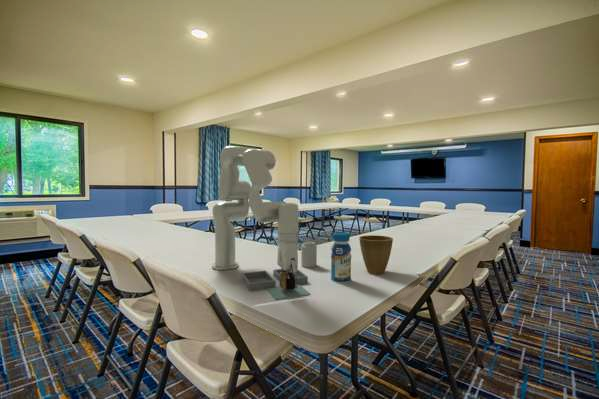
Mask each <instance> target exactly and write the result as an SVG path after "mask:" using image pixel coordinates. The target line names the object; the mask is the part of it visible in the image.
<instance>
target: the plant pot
mask: <svg viewBox="0 0 599 399" xmlns="http://www.w3.org/2000/svg"><path fill="white" fill-rule="evenodd" d="M393 239H394V238H393V237H391V236H387V235H377V234H376V235H370V234H369V235H361V236H359V237H358V240H359V244H360V245H359V246H360V251H361V256H362V259H363V262H364V265H365V268H366V272H367V273H368V274H372V275H383V274H384V273H386V269H387V266H388V264H389V260H390V257H391V252H392V249H393V248H392V247H393V242H394V240H393Z"/></svg>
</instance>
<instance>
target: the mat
mask: <svg viewBox="0 0 599 399" xmlns="http://www.w3.org/2000/svg"><path fill="white" fill-rule="evenodd" d="M266 290H267V291H268V293H269V294H270V295H271V296H272V298H273V299H274V300H275V301H278V300H283V299H284V300H287V299H295V298H300V297H309V296H310V295H311V293H310V292H309V291H308V290H306V289H305V287H303V286H302V284H297V289H290V290H283V289H282V288H281V287H280V286H275V287H273V288H266Z"/></svg>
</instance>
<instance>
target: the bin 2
mask: <svg viewBox="0 0 599 399" xmlns="http://www.w3.org/2000/svg"><path fill="white" fill-rule="evenodd" d="M289 269H291V268H289ZM296 271H297V273H296V274H297V284H300V285H302V284H308V282H309V280H308V279H309V277H308V276H307V274H305V273H303V271H301V270H300V269H298V268H297V269H296ZM280 272H281V268H277V269H273V271H272V273H273V274H272V277H273V278H274V279H276V280H277V281H278V282H279V283H280Z"/></svg>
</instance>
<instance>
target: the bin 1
mask: <svg viewBox="0 0 599 399" xmlns="http://www.w3.org/2000/svg"><path fill="white" fill-rule="evenodd" d="M241 280H242V281H243V283H244V286H245V287H246V288H247V290H248V291H249V292H250V291H251V292H252V291H257V290H265V289H266V290H267V288H273V287H276V280H275V278H274V277H273V276H271V274H270V273H269V272H268V271H267V270H259V271H251V272H250V271H249V272H242V273H241Z"/></svg>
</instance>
